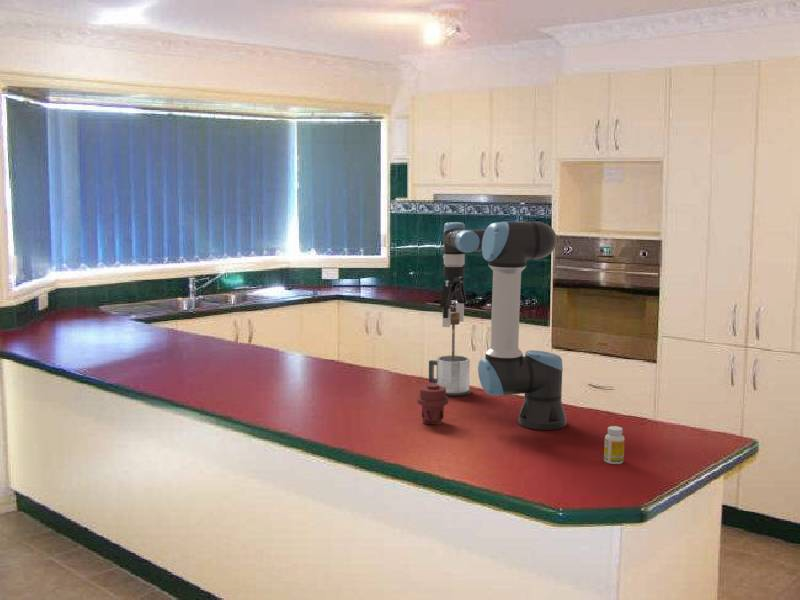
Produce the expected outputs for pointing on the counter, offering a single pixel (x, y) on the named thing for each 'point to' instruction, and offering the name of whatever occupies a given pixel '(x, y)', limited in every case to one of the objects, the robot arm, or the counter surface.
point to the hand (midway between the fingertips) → (453, 324)
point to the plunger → (454, 321)
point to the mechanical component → (432, 403)
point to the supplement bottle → (614, 445)
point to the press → (451, 374)
